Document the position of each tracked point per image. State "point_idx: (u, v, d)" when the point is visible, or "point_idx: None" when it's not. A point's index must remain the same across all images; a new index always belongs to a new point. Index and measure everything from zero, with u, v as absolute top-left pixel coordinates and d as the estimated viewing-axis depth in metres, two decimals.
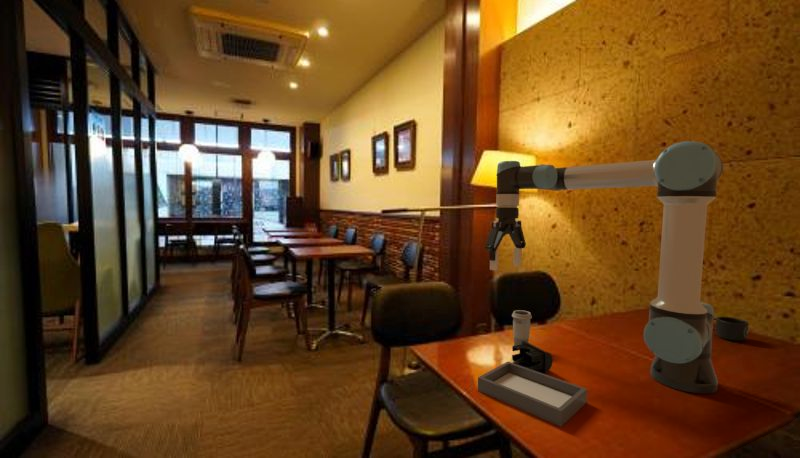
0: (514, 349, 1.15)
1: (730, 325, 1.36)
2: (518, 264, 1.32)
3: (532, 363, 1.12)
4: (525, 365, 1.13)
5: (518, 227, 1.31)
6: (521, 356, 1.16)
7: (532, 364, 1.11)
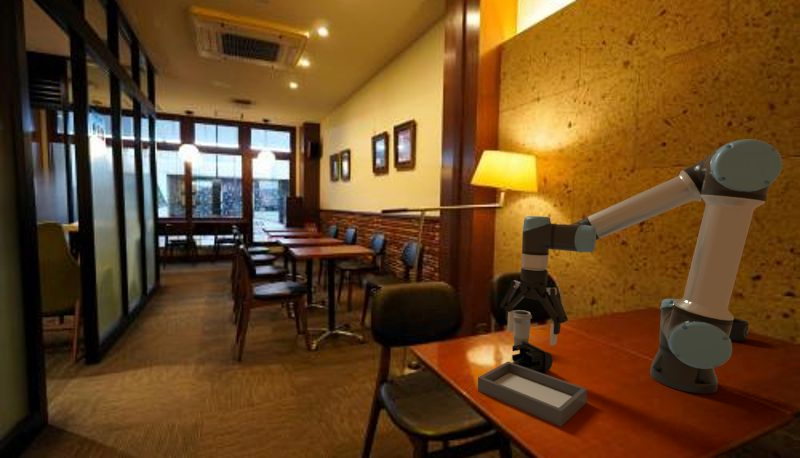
0: (514, 349, 1.15)
1: None
2: None
3: (532, 363, 1.12)
4: (525, 365, 1.13)
5: None
6: (521, 356, 1.16)
7: (532, 364, 1.11)
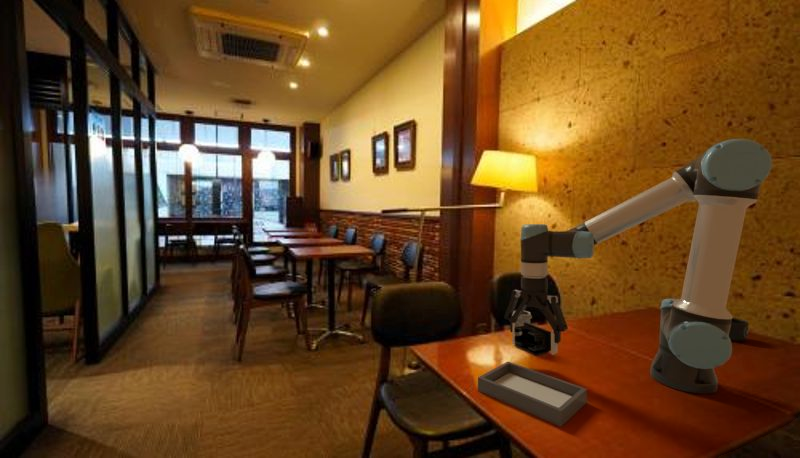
0: (516, 330, 1.14)
1: None
2: None
3: (535, 344, 1.11)
4: (528, 346, 1.12)
5: None
6: (523, 337, 1.15)
7: (535, 344, 1.11)
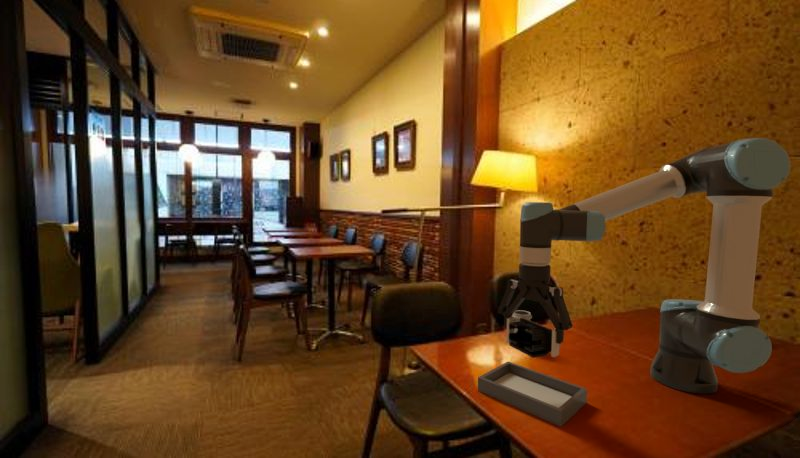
0: (511, 327, 0.97)
1: None
2: None
3: (532, 343, 0.94)
4: (524, 345, 0.96)
5: None
6: (519, 335, 0.98)
7: (532, 344, 0.94)
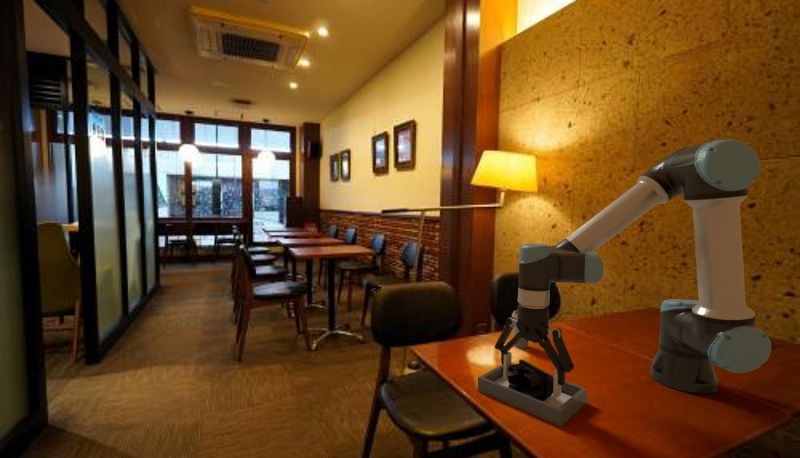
0: (510, 369, 0.98)
1: None
2: None
3: (531, 387, 0.95)
4: (523, 388, 0.96)
5: None
6: (518, 377, 0.99)
7: (531, 388, 0.94)
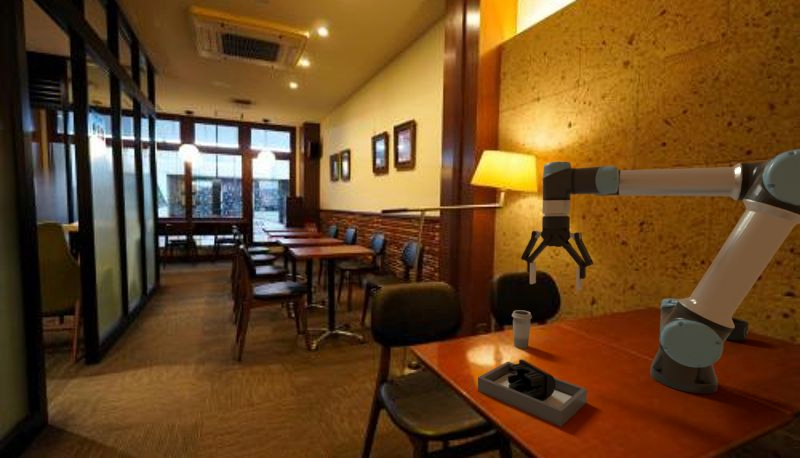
0: (510, 369, 0.98)
1: None
2: None
3: (531, 387, 0.95)
4: (523, 388, 0.96)
5: None
6: (518, 377, 0.99)
7: (531, 388, 0.94)
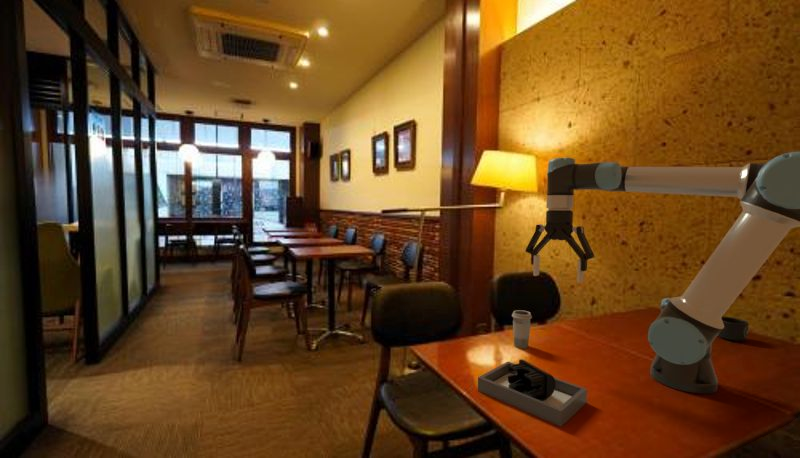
0: (510, 369, 0.98)
1: (730, 325, 1.36)
2: None
3: (531, 387, 0.95)
4: (523, 388, 0.96)
5: None
6: (518, 377, 0.99)
7: (531, 388, 0.94)
